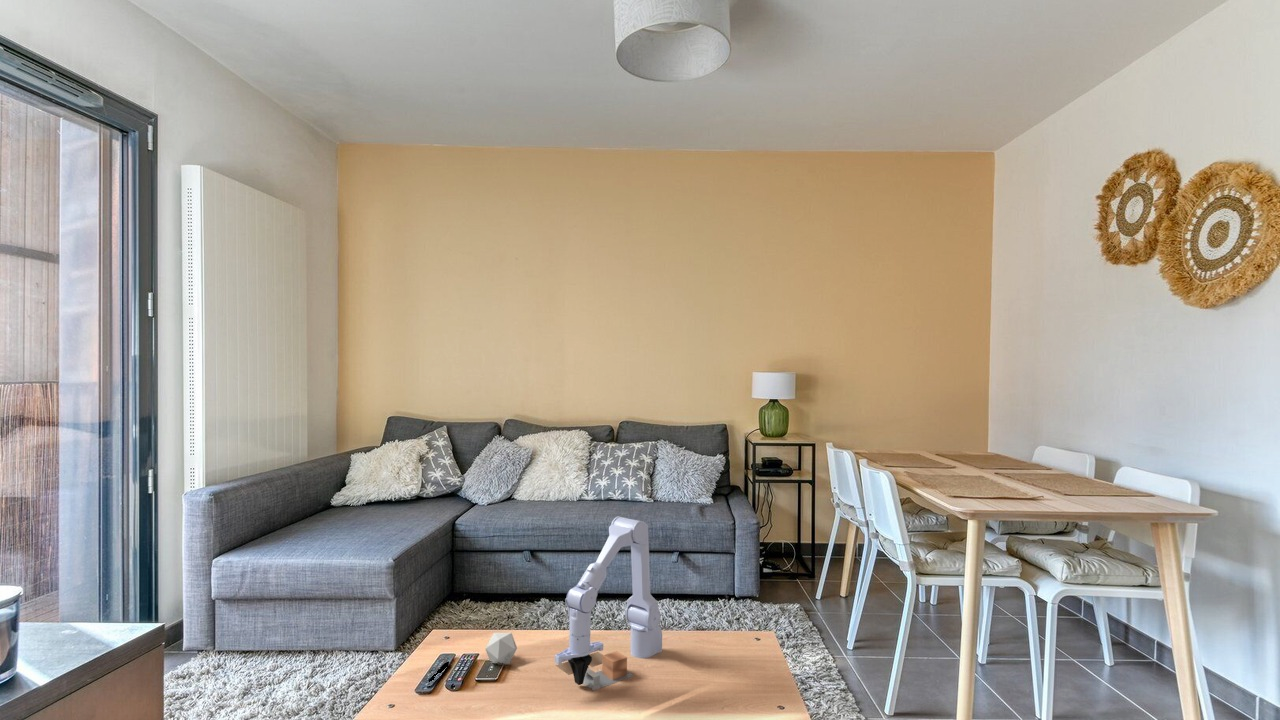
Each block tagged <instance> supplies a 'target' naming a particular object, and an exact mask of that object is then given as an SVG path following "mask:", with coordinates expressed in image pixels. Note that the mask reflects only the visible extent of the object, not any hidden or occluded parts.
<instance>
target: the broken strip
mask: <svg viewBox="0 0 1280 720" xmlns="http://www.w3.org/2000/svg"><path fill="white" fill-rule="evenodd" d="M589 655H590V656H591V657H592V661H591V663H590V665H589V666H588V668H589V669H590V667H591V668H593V667H596V666H599V665H602V656H603V655H604V654H602V653H600V651H595V652H592V653H590V654H589ZM555 667H557V668H558V669H560V670H561V671H562V672H564V673H565V674H567V675H568V676H569V675H573V671H572V668H571V666H570V664H569V662H568V661H564V662H562V663H561V664H555Z"/></svg>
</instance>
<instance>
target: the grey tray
mask: <svg viewBox="0 0 1280 720" xmlns="http://www.w3.org/2000/svg"><path fill="white" fill-rule="evenodd" d="M634 676H635V675H634V674H632V673H631V672H629V671H628V670H627V675H626V676H623V677H620V678H618V679H615V680H611V679H610V678H608V677H607V676H605V675H604V674H602V670H598V671H596V672H595V671H594V670H592V669H591V668H590V667H589V668H588V669H587V671H586V674H585V677H584V681H583V684H582V685H584V686H586V687H587V688H588V689H590V690H592V691H596V690H599V689H602V688H605V687H607V686H610V685H613V684H616V683H619V682H621V681H624V680H627V679H629V678H630V679H631V678H633V677H634Z"/></svg>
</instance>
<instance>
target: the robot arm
mask: <svg viewBox="0 0 1280 720" xmlns="http://www.w3.org/2000/svg"><path fill="white" fill-rule="evenodd" d="M649 540H650V539H649V524H648V523H646V522H645V521H643V520H636V519H632V518H627V517H623V516H620V515H619V516H618V515H617V516H615V517H614V519H612V521H611V524H610V526H609V527H608V537H607V539H606V542H605V543H604V545H603V547H602V549H601V550H600V552H599V553H600V554H599V555H598V557H597V559H596V561H595V562H592V563H590V564H589V565H588V567H587V568H586V570H585V571H584V573H583V574H582V576H581V578H580V580H579V581H578V582H577V584H576V585H575V586H573V587H572V588H570V589H569V590H568V592H567V593H566V598H565V599H564V601H565V605H566V607H567V613H568V614H569V628H568V629H569V632H568V635H569V636H568V638H569V639H568V647H567V648H566V649H564V650H562V651H560V652H559V653H556V654H554V663H556V665H559V664H562V663H565V662H569V664H570V666H571V668H572V671H573V674H572V675H573V679H574V683H575V684H576V685H578V686H581V685H584V684H583V681H584V677H585V674H586V671H587V669H588V667H590V663H591V661H592V657H591V656H590V654H593V653H596V652H602V651H604V643H603V642H601V641H593V642H591V624H592V623H591V620H592V610H593V609H594V607H595V606H596V603H597V597H598V591H599V590H600V588H601V587H602V585H603V584H604V581H605V579H606V578H607V576H608V572H607V568H608V566H609V565H610V564H611V562H612V561H613V559H614V558H615V557H616V555H617V554H618V553H619V551H620V550H621V548H625V547H629V546H630V554H631V555H630V556H631V558H630V559H631V560H630V561H631V582H632V583H631V585H632V586H631V587H632V588H631V589H632V595H631V596H630V597H629V598H628V599H627V600H626V608H625V613H624V614H625V616H624V617H625V620H626V621H627V622H628V626H630V655H631V656H632V657H635V658H637V659H649V658H651V657H653V656H655V655H657V654H660V653H663V630H662V628H661V626H660V625H659V624H660V622H661V610H660V609H659V602H658V600H657V599H655V597H653V595H652V594H651V575H650V546H649Z"/></svg>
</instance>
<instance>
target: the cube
mask: <svg viewBox="0 0 1280 720" xmlns="http://www.w3.org/2000/svg"><path fill="white" fill-rule="evenodd" d="M602 655H603V656H602V664H601V666H602V667H601V671H602V674H604V675H605V676H607V677H608V678H610V679H611V680H615V679H618V678H620V677H623V676H626V675H627V671H628V657H627V656H625V655H624V654H623V653H621V652H618V651H617V650H615V651H613V652H610V653H606V654H602Z"/></svg>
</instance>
